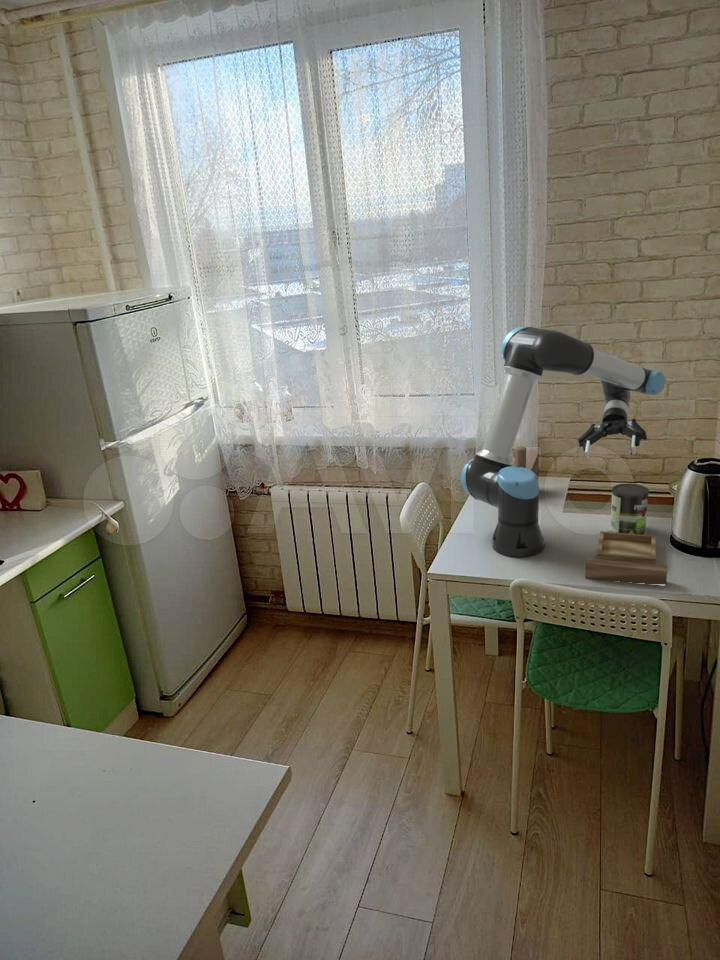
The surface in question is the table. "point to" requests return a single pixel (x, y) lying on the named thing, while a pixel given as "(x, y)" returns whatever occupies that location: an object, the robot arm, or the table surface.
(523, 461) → the wooden block
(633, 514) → the coffee can
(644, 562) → the brown wooden tray
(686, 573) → the table surface
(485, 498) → the robot arm
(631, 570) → the block
